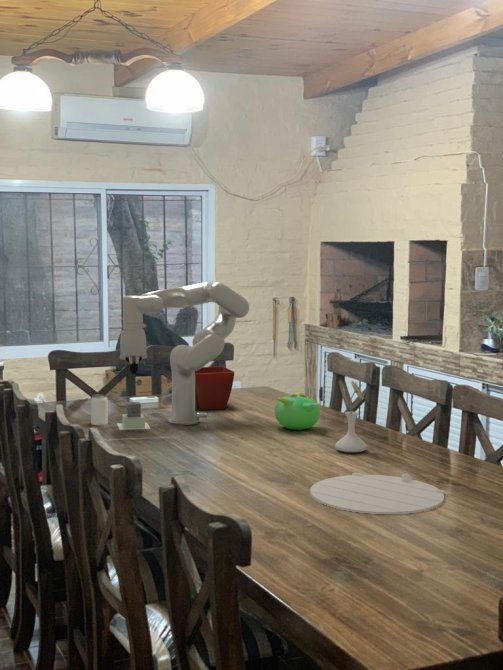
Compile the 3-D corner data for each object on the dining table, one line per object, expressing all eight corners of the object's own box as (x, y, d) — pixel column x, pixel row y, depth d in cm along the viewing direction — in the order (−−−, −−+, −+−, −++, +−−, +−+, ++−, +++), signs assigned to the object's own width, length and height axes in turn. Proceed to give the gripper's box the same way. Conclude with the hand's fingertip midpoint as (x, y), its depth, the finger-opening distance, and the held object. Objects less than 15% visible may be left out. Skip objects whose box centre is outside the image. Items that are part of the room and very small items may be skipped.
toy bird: (320, 425, 365) (321, 389, 364) (319, 434, 348) (320, 397, 347) (275, 424, 367) (276, 388, 365) (272, 433, 350) (273, 395, 349)
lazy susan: (358, 471, 296) (358, 460, 296) (468, 493, 271) (468, 482, 271) (283, 497, 265) (283, 486, 265) (400, 525, 241) (401, 512, 240)
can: (106, 427, 357) (105, 397, 356) (89, 427, 357) (89, 397, 356) (109, 424, 364) (108, 394, 362) (92, 423, 364) (92, 394, 363)
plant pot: (182, 404, 408) (182, 367, 406) (223, 402, 414) (223, 366, 412) (192, 412, 390) (192, 373, 388) (234, 410, 396) (235, 372, 394)
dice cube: (127, 417, 354) (127, 404, 353) (126, 414, 359) (126, 402, 358) (140, 416, 355) (140, 404, 354) (139, 414, 360) (139, 401, 359)
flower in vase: (365, 455, 316) (367, 384, 313) (333, 453, 318) (334, 383, 315) (368, 447, 328) (370, 379, 326) (337, 445, 330) (338, 377, 328)
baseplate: (146, 424, 364) (146, 422, 364) (150, 430, 352) (150, 428, 352) (116, 425, 361) (116, 423, 361) (119, 431, 350) (119, 429, 349)
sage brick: (142, 423, 361) (142, 413, 361) (144, 427, 354) (144, 417, 353) (122, 424, 360) (122, 414, 359) (124, 428, 352) (124, 418, 351)
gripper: (150, 325, 360) (151, 371, 362) (112, 326, 356) (113, 372, 358) (153, 327, 352) (154, 374, 354) (115, 328, 348) (115, 375, 351)
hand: (133, 373), depth 356 cm, fingers closed
